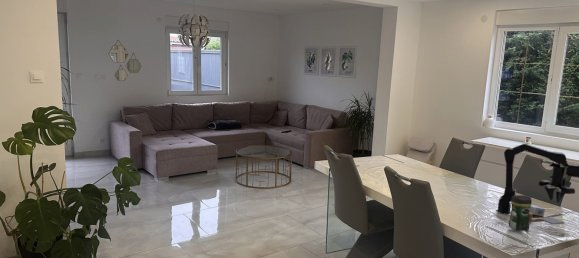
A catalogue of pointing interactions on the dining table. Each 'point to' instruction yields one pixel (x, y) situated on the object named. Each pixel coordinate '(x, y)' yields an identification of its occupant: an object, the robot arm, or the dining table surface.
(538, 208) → the medicine box
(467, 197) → the dining table surface
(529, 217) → the shelf bay
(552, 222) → the pad
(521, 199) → the coffee jar
